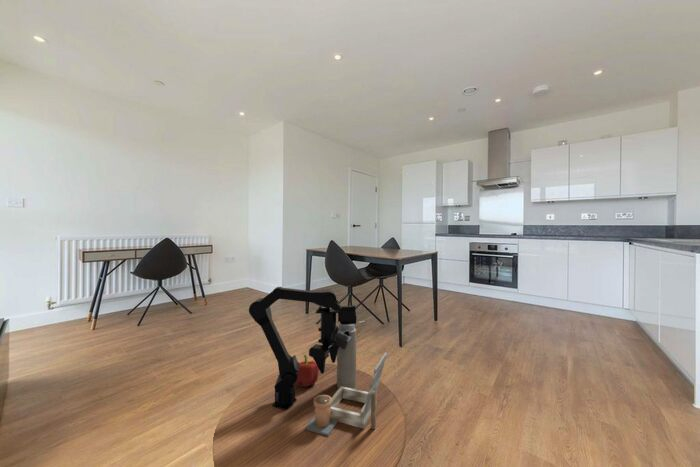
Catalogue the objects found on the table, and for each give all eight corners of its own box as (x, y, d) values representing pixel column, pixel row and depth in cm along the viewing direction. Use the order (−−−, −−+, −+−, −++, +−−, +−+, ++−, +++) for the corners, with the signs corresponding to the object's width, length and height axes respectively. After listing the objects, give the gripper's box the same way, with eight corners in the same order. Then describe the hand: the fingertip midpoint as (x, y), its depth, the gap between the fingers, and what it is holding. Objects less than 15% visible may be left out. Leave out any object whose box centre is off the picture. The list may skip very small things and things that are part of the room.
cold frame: (324, 417, 87) (324, 360, 88) (340, 395, 100) (341, 345, 101) (376, 432, 81) (376, 369, 82) (387, 406, 94) (387, 352, 95)
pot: (310, 425, 83) (310, 402, 83) (319, 414, 88) (319, 392, 88) (326, 430, 80) (326, 406, 81) (334, 419, 86) (334, 396, 86)
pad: (305, 429, 82) (305, 427, 82) (317, 414, 89) (317, 412, 89) (328, 436, 79) (328, 434, 79) (339, 419, 86) (339, 417, 86)
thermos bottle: (356, 380, 112) (356, 313, 113) (356, 390, 104) (356, 318, 105) (337, 379, 112) (337, 313, 114) (336, 390, 104) (336, 318, 106)
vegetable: (292, 378, 113) (292, 355, 113) (316, 375, 116) (316, 352, 117) (294, 392, 103) (295, 366, 103) (321, 388, 106) (321, 362, 106)
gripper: (337, 335, 86) (337, 384, 86) (357, 320, 104) (357, 361, 103) (308, 331, 91) (307, 377, 90) (331, 317, 108) (331, 356, 107)
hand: (328, 367), depth 97 cm, fingers open, 9 cm apart
